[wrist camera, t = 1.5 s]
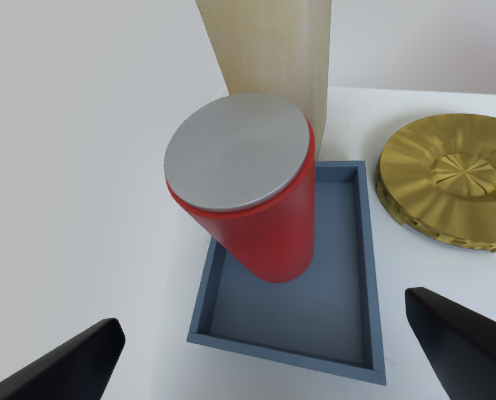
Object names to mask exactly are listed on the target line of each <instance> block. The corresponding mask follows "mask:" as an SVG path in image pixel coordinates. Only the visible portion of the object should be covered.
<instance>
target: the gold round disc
mask: <svg viewBox="0 0 496 400" xmlns="http://www.w3.org/2000/svg"><path fill="white" fill-rule="evenodd" d="M376 176H377V183H378V187H377V189H376V192H377V195H378V197H379V199H380V201H381V203H382V205H383V206H384V208H385V209H386V211H387V212H388V213H389V214H390V215H391V216H392V217H393V219H395V220H396V221H397V222H398V223H399V224H400V225H403V224H404V223H407V224H408V225H410V226H411V227H413V228H414V229H416V230H418V231H419V232H421V233H423V234H425V235H427V236H429V237H431V238H434V239H436V240H439V241H442V242H444V243H447V244H451V245H455V246H459V247H464V248H470V249H481V250H491V251H492V253H494V252H496V118H494V117H489V116H484V115H477V114H442V115H435V116H431V117H426V118H423V119H420V120H417V121H414V122H412V123H410V124H408V125H406V126H404V127H403V128H401V129H400V130H398V131H397V132H396V133H395V134H394V135H393V136H392V137H391V138H390V139H389V140H388V142H387V143H386V145H385V147H384V149H383V151H382V154H381V156H380V159H379V162H378V165H377V171H376Z"/></svg>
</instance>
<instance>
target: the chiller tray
mask: <svg viewBox="0 0 496 400" xmlns="http://www.w3.org/2000/svg"><path fill="white" fill-rule="evenodd" d="M187 342H191V343H195V344H200V345H204V346H209V347H213V348H218V349H222V350H226V351H231V352H235V353H240V354H244V355H249V356H253V357H258V358H262V359H267V360H271V361H276V362H280V363H285V364H289V365H294V366H298V367H303V368H307V369H312V370H316V371H321V372H325V373H329V374H334V375H338V376H343V377H347V378H352V379H356V380H361V381H365V382H370V383H374V384H379V385H383V386H386V375H385V373H384V372H385V365H384V354H383V344H382V334H381V323H380V313H379V303H378V293H377V282H376V272H375V262H374V251H373V241H372V231H371V220H370V210H369V200H368V189H367V179H366V169H365V161H328V162H315V234H314V254H313V258H312V260H311V263H310V264H309V266H308V268H307V269H306V270H305V271H304V272H303V273H302V274H301V275H300V276H298V277H297V278H295V279H293V280H291V281H288V282H284V283H271V282H266V281H263V280H261V279H259V278H257V277H256V276H255V275H253V274H252V273H251V272H250V271H249V270H248V269H247V268H246V267H245V266H244V265H243V264H242V263H241V262H239V261H238V260H237V259H236V258H235V257H234V256H233V255H232V254H231V253H230V252H229V251H228V250H227V249H226V248H225V247H224V246H223V245H221V244H220V243H219V242H218V241H217V240H216V239H215V238H214V237H213V236H212V237H211V241H210V245H209V250H208V254H207V258H206V262H205V266H204V271H203V275H202V279H201V283H200V287H199V291H198V296H197V300H196V304H195V308H194V312H193V316H192V321H191V325H190V329H189V333H188V337H187Z"/></svg>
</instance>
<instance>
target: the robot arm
mask: <svg viewBox="0 0 496 400" xmlns="http://www.w3.org/2000/svg"><path fill="white" fill-rule="evenodd" d="M405 304H406V316H407V319H408V322H409V324H410V326H411V328H412V330H413V332H414V333H415V335H416V337H417V339H418V341H419V343H420V345H421V347H422V349H423V351H424V353H425V354H426V356H427V358H428V360H429V362H430V364H431V366H432V368H433V370H434V372H435V374H436V375H437V377H438V379H439V381H440V383H441V385H442V386H443V388H444V390H445V391H446V393H447V395H448V396H449V398H450V400H496V322H495V321H493V320H491V319H489V318H487V317H485V316H483V315H481V314H479V313H477V312H474V311H472V310H470V309H468V308H466V307H464V306H462V305H460V304H458V303H456V302H453V301H451V300H449V299H447V298H445V297H443V296H441V295H439V294H437V293H435V292H432V291H430V290H428V289H426V288H424V287H416V288H408V289H406V290H405ZM124 345H125V335H124V333H123V330H122V328H121V326H120V324H119V321H118V320H117V319H116V318H108V319H103V320H101V321H99V322H98V323H96V324H95V325H93V326H91V327H90V328H88V329H87V330H85V331H83V332H81V333H80V334H78V335H77V336H75V337H74V338H72V339H70V340H68V341H67V342H65V343H63V344H62V345H60V346H58V347H57V348H55V349H54V350H52V351H50V352H49V353H47V354H45V355H44V356H42V357H40V358H39V359H37V360H36V361H34V362H32V363H31V364H29V365H27V366H26V367H24V368H23V369H21V370H19V371H18V372H16V373H14V374H13V375H11V376H10V377H8V378H6V379H4V380H3V381H1V382H0V400H100V399H101V397H102V395H103V393H104V390H105V388H106V386H107V384H108V382H109V379H110V377H111V375H112V372H113V370H114V368H115V366H116V363H117V361H118V359H119V356H120V354H121V352H122V350H123V348H124Z"/></svg>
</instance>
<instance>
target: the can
mask: <svg viewBox="0 0 496 400" xmlns="http://www.w3.org/2000/svg"><path fill="white" fill-rule="evenodd" d="M164 171H165V177H166V183H167V186H168V189H169V191H170V193H171V195H172V197H173V198H174V199H175V201H176V202H177V203H178V204H179V205H180V206H181V207H182V208H183V209H184V210H185V211H186V212H188V213H189V214H190V215H191V216H192V217H193V218H194V219H195V220H196V221H197V222H198V223H199V224H200V225H201V226H202V227H203V228H204V229H206V230H207V231H208V232H209V233H210V234H211V235H212V236H213V237H214V238H215V239H216V240H217V241H218V242H219V243H220V244H221V245H223V246H224V247H225V248H226V249H227V250H228V251H229V252H230V253H231V254H232V255H233V256H234V257H235V258H236V259H237V260H238V261H239V262H241V263H242V264H243V265H244V266H245V267H246V268H247V269H248V270H249V271H250V272H251V273H252V274H253V275H255V276H256V277H257V278H259V279H261V280H263V281H266V282H271V283H284V282H288V281H291V280H293V279H295V278H297V277H298V276H300V275H301V274H302V273H303V272H304V271H305V270H306V269H307V268H308V266H309V264H310V263H311V260H312V258H313V254H314V234H315V136H314V132H313V129H312V127H311V125H310V123H309V121H308V120H307V118H306V117H305V116H304V115H303V113H302V112H301V111H300V109H299V108H298V107H297V106H296V105H294V104H293V103H292V102H290V101H289V100H287V99H285V98H283V97H280V96H278V95H274V94H270V93H263V92H245V93H239V94H234V95H230V96H226V97H223V98H220V99H218V100H216V101H213V102H211V103H209V104H207V105H205V106H204V107H202V108H201V109H199V110H198V111H196V112H195V113H194V114H192V115H191V116H190V117H189V118H188V119H187V120H185V121H184V123H183V124H182V125H181V126H180V127H179V128H178V129H177V131H176V132H175V134H174V135H173V137H172V138H171V140H170V142H169V145H168V147H167V150H166V153H165V159H164Z"/></svg>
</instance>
